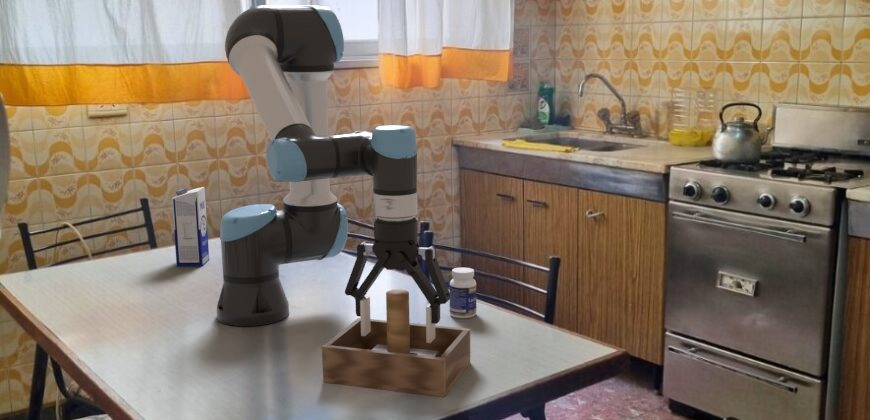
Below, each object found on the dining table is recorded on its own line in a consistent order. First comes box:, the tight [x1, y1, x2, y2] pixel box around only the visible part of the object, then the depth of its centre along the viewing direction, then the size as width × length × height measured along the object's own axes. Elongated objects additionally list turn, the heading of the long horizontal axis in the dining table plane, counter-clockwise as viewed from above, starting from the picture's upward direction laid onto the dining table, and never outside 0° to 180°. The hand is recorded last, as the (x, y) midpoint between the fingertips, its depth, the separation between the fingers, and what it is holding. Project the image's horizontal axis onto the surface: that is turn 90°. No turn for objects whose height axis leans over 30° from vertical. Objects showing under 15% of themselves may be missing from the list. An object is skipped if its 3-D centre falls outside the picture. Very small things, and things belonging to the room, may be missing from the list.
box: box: [321, 317, 471, 398], centre depth 157 cm, size 22×16×6 cm
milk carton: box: [171, 186, 210, 268], centre depth 231 cm, size 7×7×20 cm
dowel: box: [385, 288, 410, 354], centre depth 156 cm, size 4×4×14 cm
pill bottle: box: [449, 267, 477, 319], centre depth 188 cm, size 6×6×10 cm
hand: (398, 337), depth 156 cm, fingers open, 11 cm apart
